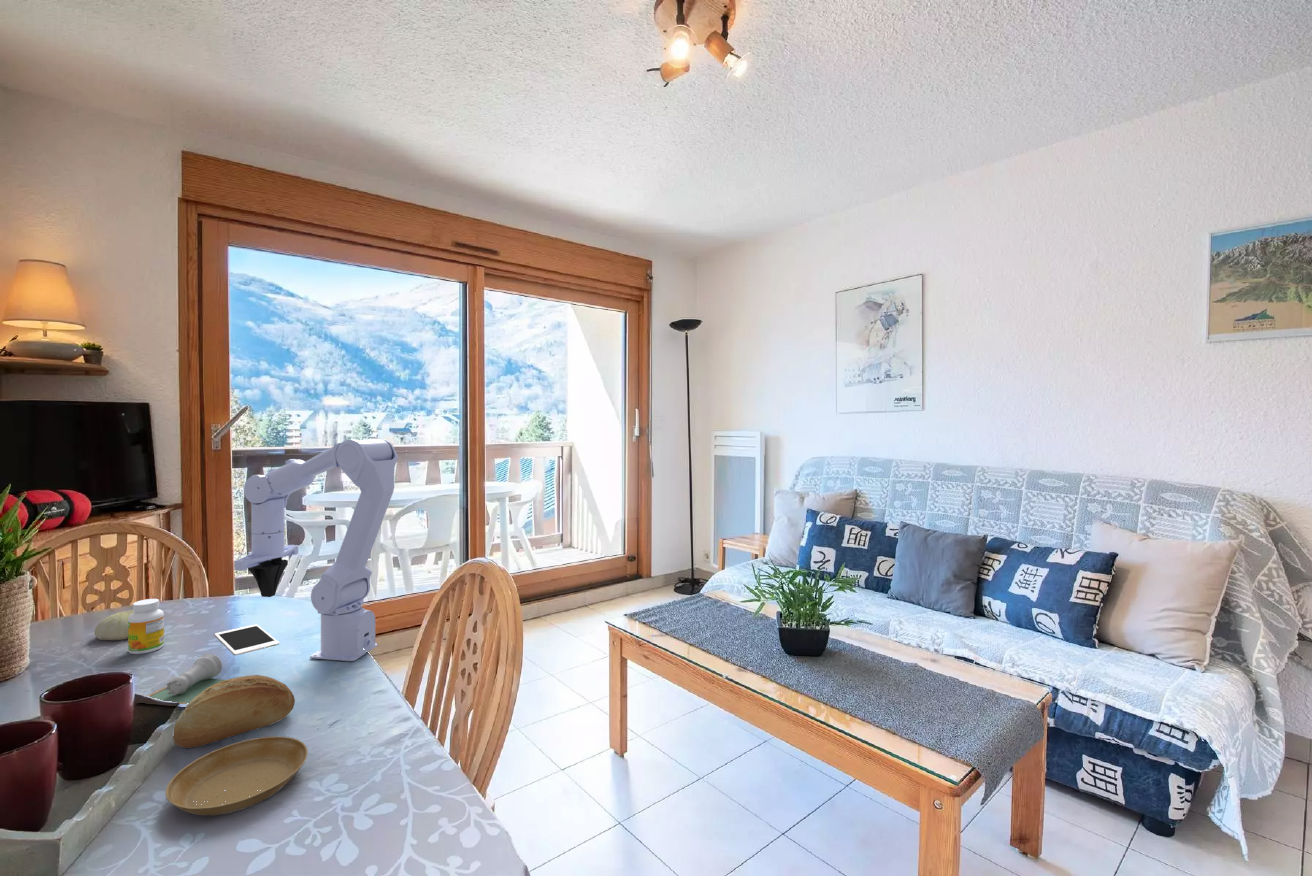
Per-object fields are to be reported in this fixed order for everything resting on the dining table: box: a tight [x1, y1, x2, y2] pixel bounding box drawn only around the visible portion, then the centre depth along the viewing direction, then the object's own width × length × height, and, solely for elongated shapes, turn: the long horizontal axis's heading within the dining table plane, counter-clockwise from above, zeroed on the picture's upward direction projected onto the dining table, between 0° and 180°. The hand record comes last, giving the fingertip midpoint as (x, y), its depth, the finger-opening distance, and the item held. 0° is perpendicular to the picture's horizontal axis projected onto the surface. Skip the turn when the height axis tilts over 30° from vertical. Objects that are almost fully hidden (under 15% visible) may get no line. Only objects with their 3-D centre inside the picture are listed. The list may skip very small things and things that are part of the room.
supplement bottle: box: [127, 598, 165, 655], centre depth 114 cm, size 5×5×10 cm
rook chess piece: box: [164, 653, 223, 696], centre depth 98 cm, size 4×4×8 cm
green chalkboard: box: [146, 678, 226, 704], centre depth 97 cm, size 12×9×1 cm
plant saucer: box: [164, 736, 309, 816], centre depth 73 cm, size 15×15×3 cm
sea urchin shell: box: [93, 609, 134, 641], centre depth 121 cm, size 9×8×8 cm
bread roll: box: [172, 674, 296, 749], centre depth 85 cm, size 10×15×8 cm, turn 133°
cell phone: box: [214, 623, 281, 656], centre depth 120 cm, size 8×16×1 cm, turn 50°
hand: (268, 595), depth 118 cm, fingers closed
